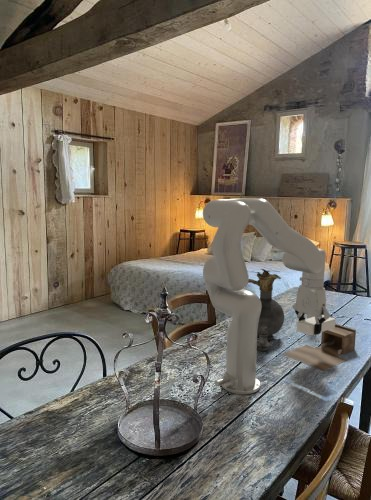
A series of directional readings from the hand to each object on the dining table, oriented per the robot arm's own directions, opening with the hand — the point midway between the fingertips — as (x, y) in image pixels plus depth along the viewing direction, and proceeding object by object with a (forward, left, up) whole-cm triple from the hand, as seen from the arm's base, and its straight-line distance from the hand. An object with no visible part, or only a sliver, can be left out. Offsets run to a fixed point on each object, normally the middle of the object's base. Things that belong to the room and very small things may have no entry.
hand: (309, 330), depth 148 cm
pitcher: (+5, +28, -12) cm, 31 cm away
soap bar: (+4, 0, 0) cm, 4 cm away
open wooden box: (+10, 0, -12) cm, 15 cm away
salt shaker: (-7, +16, -12) cm, 21 cm away
